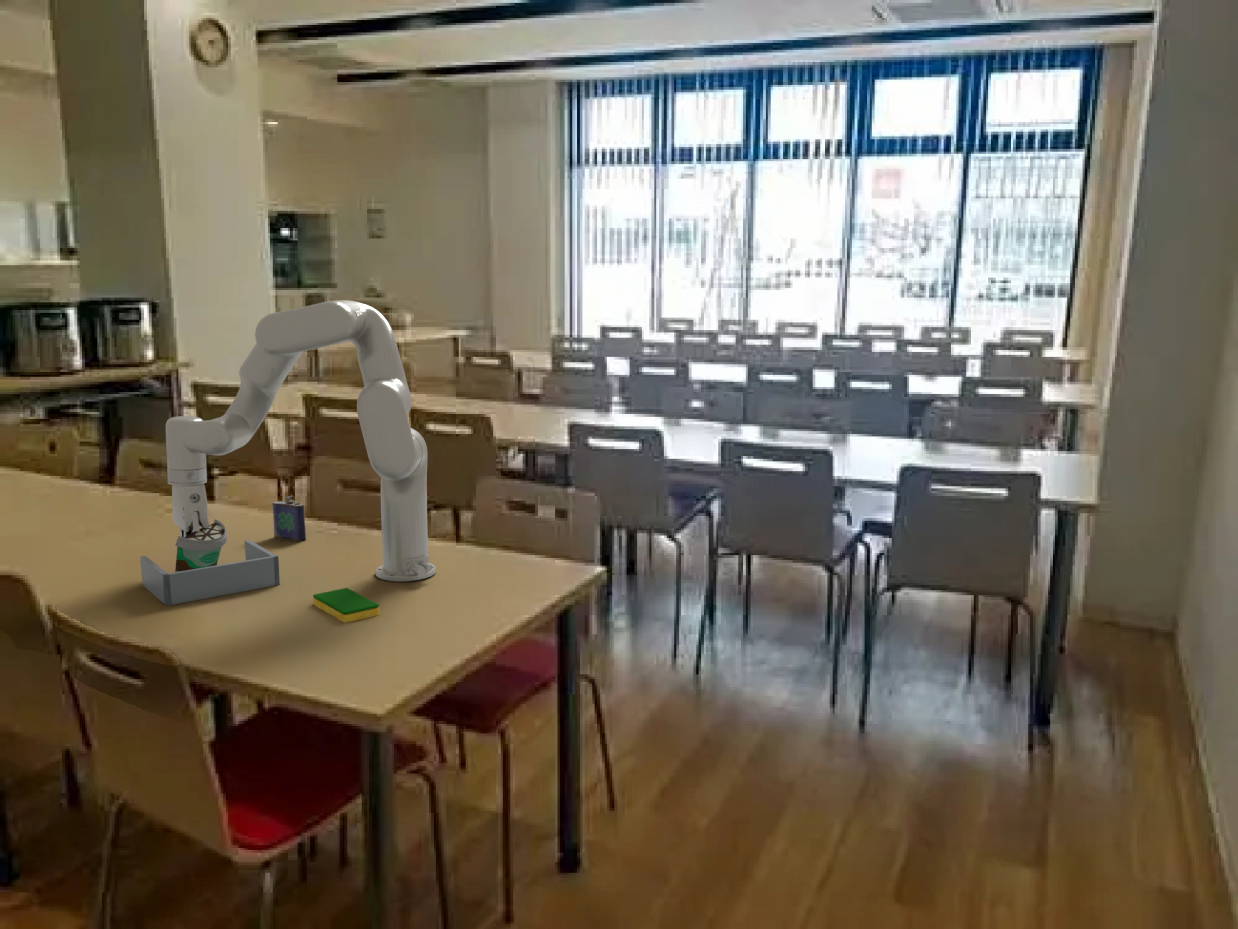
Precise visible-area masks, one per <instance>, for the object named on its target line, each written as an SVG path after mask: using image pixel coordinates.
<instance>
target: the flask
mask: <svg viewBox="0 0 1238 929" xmlns="http://www.w3.org/2000/svg"><path fill="white" fill-rule="evenodd" d="M292 498H293V495H288V496H284V498H283V499H285V501H281V500H279V501H274V502H272V505H271V506H272V513H273V514H272V517H273V537H274V538H275V539H277V540H279V539H280V540H283V541H284V540H285V541H294V542H297V541H298V542H299V543H300V542H301V541H303V542H306V541H307V537H306V535H307V533H306V524H305V506H304V504H303V503H300V502H299V501H296V502H295V500H294V499H292ZM305 540H306V541H305Z"/></svg>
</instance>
